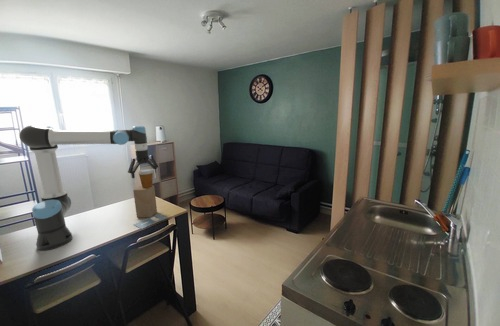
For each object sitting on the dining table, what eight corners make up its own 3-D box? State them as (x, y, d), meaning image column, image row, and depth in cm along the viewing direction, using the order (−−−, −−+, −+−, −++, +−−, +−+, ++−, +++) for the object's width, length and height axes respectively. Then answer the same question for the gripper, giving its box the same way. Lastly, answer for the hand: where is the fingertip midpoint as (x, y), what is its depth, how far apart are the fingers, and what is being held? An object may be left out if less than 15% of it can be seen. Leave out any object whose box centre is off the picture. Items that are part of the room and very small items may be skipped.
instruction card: (141, 229, 136) (141, 228, 136) (133, 224, 141) (133, 224, 141) (167, 217, 150) (167, 217, 150) (158, 214, 156) (158, 213, 155)
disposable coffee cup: (155, 187, 150) (153, 170, 148) (139, 189, 146) (137, 172, 144) (154, 184, 159) (152, 168, 156) (139, 186, 155) (137, 169, 152)
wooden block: (150, 217, 150) (147, 189, 146) (136, 217, 150) (133, 189, 146) (157, 211, 160) (154, 185, 156) (143, 211, 160) (140, 185, 156)
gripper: (125, 152, 134) (129, 185, 139) (161, 147, 154) (164, 176, 159) (119, 151, 139) (123, 183, 143) (155, 147, 158) (158, 175, 163)
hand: (145, 180), depth 151 cm, fingers open, 13 cm apart
